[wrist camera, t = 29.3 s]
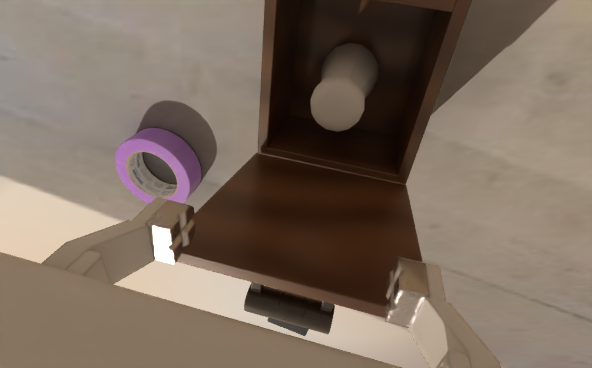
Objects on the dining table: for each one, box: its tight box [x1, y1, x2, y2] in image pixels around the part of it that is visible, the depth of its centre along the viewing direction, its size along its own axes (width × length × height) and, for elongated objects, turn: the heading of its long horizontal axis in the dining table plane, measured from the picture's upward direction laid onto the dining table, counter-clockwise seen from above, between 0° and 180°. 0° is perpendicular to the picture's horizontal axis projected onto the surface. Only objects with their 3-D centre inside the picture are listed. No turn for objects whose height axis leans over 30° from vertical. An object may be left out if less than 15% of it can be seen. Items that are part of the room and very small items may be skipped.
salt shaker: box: [310, 43, 379, 132], centre depth 31 cm, size 6×6×13 cm
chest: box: [258, 0, 472, 185], centre depth 33 cm, size 16×15×10 cm
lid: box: [176, 153, 422, 334], centre depth 26 cm, size 17×15×5 cm
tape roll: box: [115, 128, 201, 204], centre depth 49 cm, size 12×12×4 cm
